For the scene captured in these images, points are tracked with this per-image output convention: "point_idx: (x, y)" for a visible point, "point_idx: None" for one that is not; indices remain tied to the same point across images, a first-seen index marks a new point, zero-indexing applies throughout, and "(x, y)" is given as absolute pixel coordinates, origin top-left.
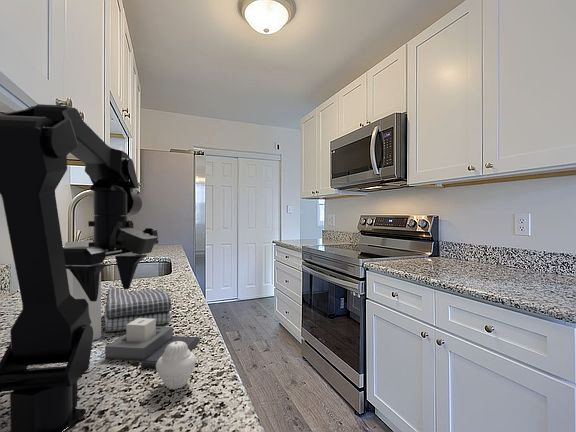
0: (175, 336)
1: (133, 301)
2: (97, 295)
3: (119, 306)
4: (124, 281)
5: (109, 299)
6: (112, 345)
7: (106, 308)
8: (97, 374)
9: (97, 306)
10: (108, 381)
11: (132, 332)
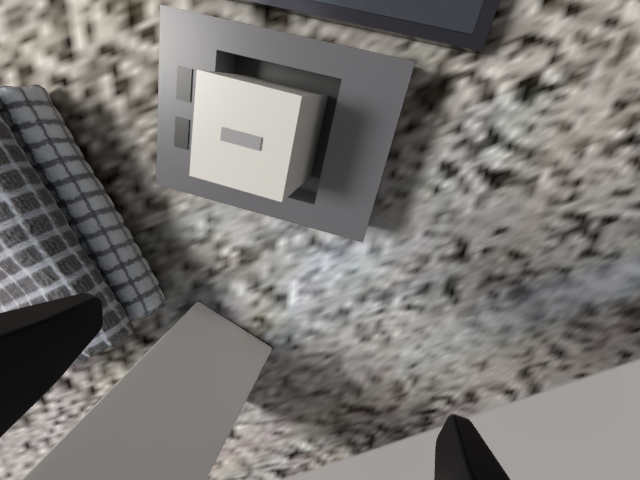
0: None
1: (11, 270)
2: (467, 447)
3: None
4: (46, 364)
5: None
6: (359, 217)
7: None
8: (487, 204)
9: (135, 387)
10: (559, 143)
11: (299, 162)
